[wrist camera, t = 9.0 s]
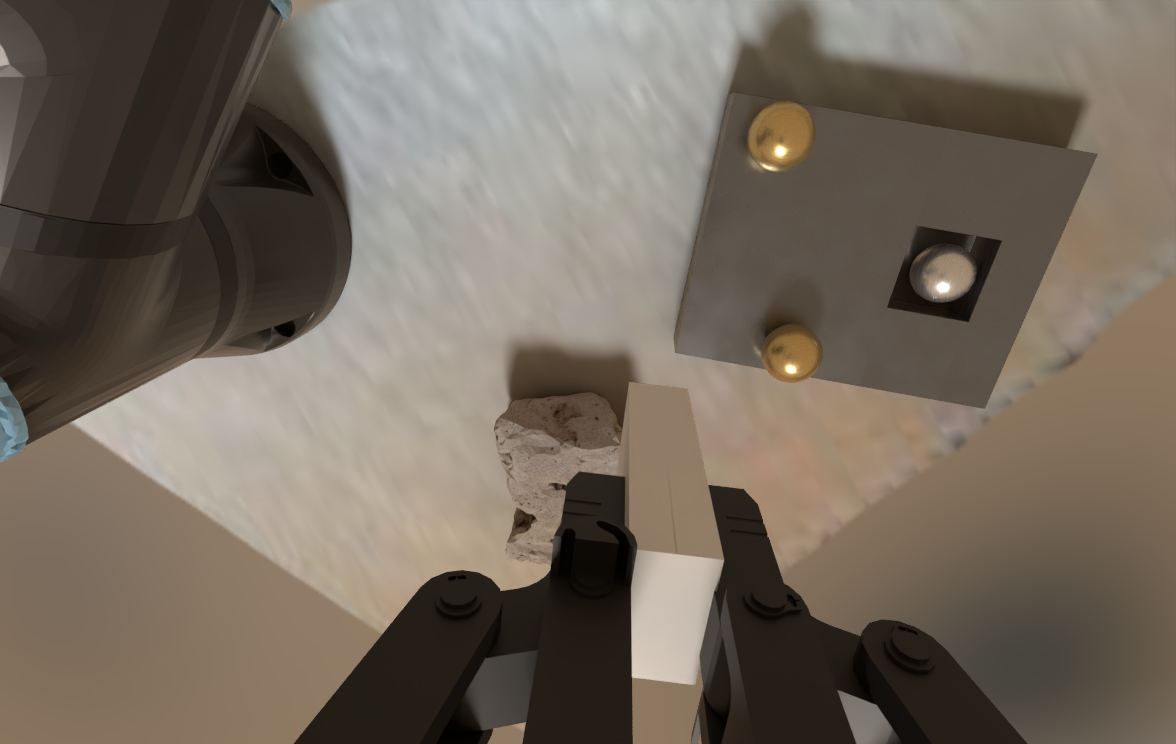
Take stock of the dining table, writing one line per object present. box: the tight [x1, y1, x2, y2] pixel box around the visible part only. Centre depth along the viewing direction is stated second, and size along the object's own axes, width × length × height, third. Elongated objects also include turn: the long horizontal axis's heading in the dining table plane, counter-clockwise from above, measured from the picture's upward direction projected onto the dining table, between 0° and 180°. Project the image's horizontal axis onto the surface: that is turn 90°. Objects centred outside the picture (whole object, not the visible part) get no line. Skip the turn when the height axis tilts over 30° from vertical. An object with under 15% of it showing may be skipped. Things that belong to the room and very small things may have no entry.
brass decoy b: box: [761, 324, 823, 383], centre depth 34 cm, size 3×3×3 cm
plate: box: [674, 92, 1097, 409], centre depth 34 cm, size 18×14×2 cm
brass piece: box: [747, 101, 816, 172], centre depth 30 cm, size 3×3×3 cm
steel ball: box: [909, 243, 977, 302], centre depth 34 cm, size 3×3×3 cm
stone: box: [494, 392, 622, 565], centre depth 41 cm, size 13×6×10 cm
